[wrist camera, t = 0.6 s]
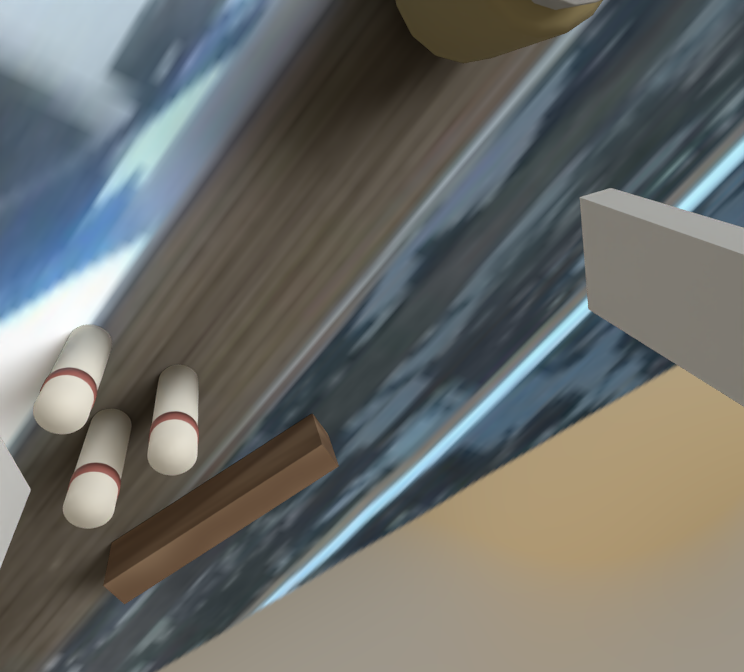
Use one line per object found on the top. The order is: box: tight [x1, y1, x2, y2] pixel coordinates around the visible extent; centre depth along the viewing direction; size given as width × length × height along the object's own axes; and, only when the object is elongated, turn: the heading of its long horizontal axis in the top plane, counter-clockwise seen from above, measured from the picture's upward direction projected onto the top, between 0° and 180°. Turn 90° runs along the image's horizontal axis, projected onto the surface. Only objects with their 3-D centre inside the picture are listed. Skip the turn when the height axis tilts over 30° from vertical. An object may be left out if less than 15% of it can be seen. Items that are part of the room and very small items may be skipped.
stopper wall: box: [103, 414, 339, 604], centre depth 41 cm, size 2×16×4 cm, turn 120°
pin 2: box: [147, 365, 199, 475], centre depth 36 cm, size 2×2×8 cm
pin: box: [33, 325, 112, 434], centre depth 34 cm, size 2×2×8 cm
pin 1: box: [63, 408, 132, 528], centre depth 36 cm, size 2×2×8 cm
